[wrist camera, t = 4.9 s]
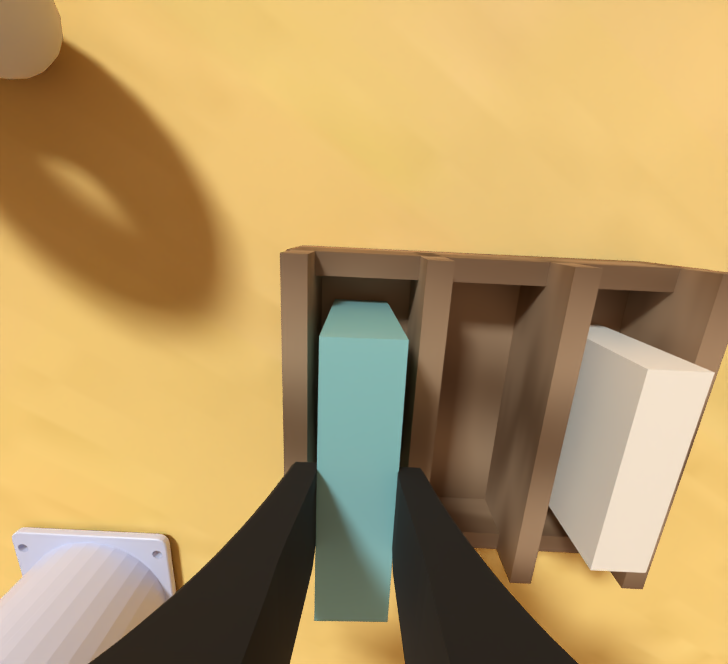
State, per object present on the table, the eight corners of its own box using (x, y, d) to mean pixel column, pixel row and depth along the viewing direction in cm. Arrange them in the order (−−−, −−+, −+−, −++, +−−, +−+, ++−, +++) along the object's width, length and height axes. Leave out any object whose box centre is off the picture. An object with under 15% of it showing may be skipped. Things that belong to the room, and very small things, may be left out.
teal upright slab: (376, 482, 16) (387, 621, 10) (330, 481, 16) (314, 620, 10) (386, 301, 14) (408, 340, 8) (334, 299, 14) (318, 336, 8)
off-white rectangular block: (565, 472, 16) (645, 572, 12) (525, 470, 16) (590, 570, 12) (599, 324, 14) (715, 372, 10) (555, 322, 14) (647, 369, 10)
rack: (580, 502, 18) (646, 589, 14) (303, 489, 18) (282, 571, 14) (642, 261, 15) (756, 275, 10) (302, 245, 15) (275, 252, 10)
